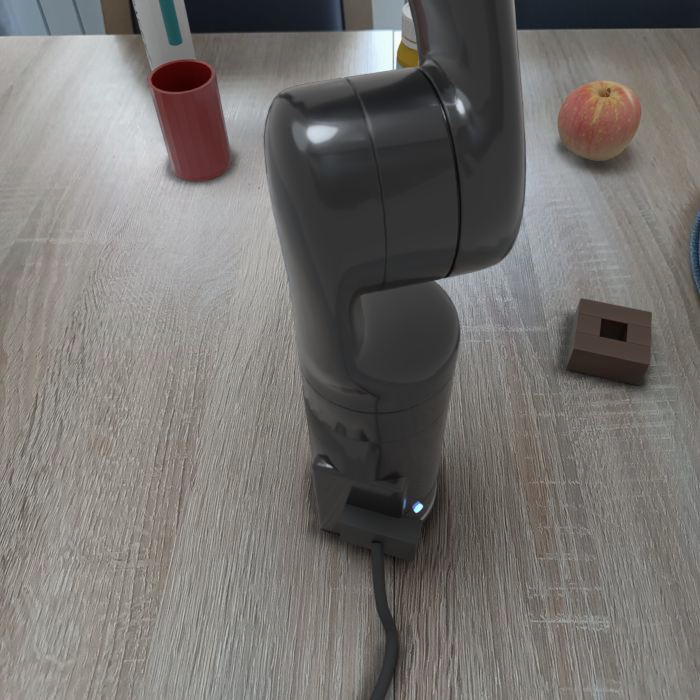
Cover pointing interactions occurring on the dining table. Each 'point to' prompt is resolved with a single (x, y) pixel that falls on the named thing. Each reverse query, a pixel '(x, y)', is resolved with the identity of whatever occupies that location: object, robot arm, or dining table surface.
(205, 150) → the cup
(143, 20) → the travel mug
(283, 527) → the dining table surface
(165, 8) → the straw
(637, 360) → the block
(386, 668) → the robot arm
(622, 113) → the apple
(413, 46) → the bottle
